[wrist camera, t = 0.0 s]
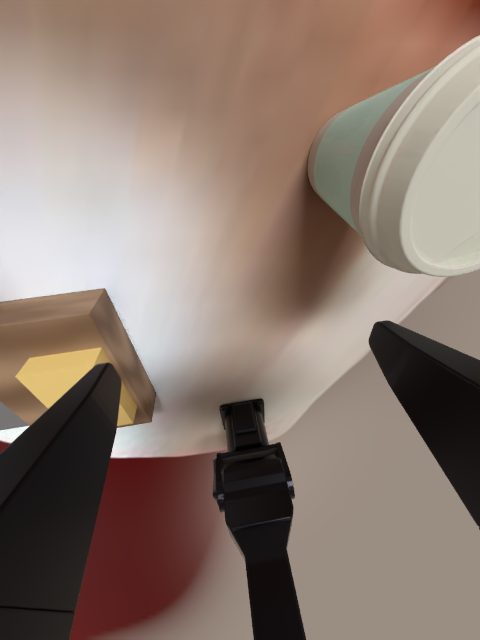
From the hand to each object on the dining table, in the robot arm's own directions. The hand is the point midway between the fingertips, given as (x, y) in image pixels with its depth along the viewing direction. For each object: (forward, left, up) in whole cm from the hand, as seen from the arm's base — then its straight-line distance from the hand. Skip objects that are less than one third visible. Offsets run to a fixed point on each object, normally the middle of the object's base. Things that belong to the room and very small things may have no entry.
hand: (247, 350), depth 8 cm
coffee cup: (+4, -10, -15) cm, 18 cm away
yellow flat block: (-12, +14, -11) cm, 22 cm away
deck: (-12, +17, -15) cm, 26 cm away
